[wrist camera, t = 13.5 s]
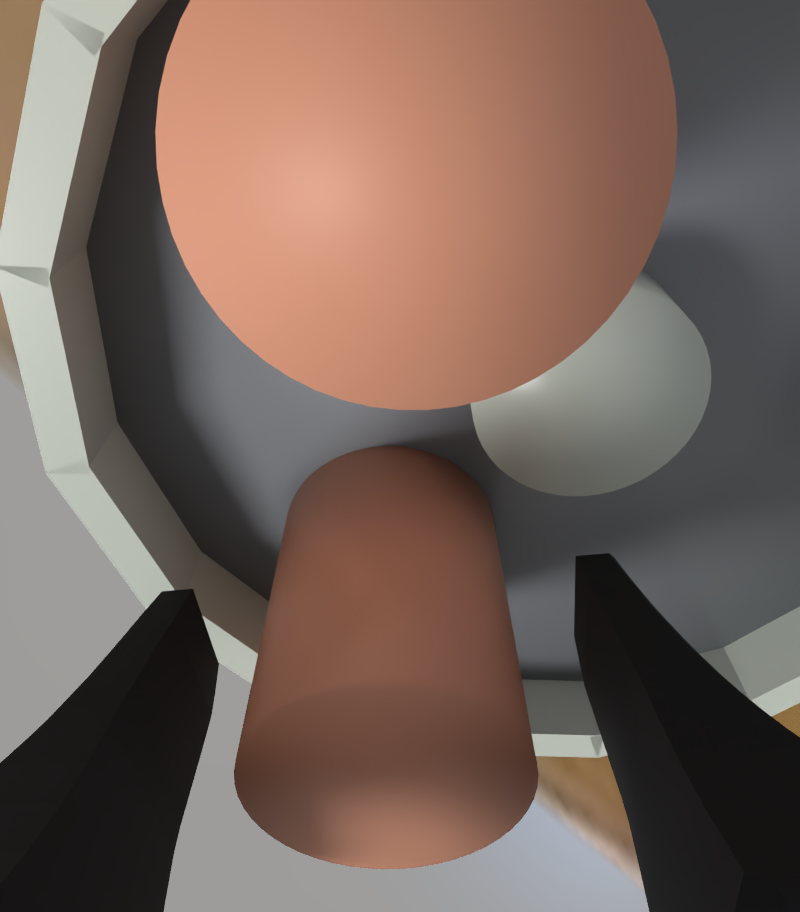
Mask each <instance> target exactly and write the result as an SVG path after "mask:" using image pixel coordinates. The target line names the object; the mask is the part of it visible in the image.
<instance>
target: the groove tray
mask: <svg viewBox="0 0 800 912" xmlns="http://www.w3.org/2000/svg"><path fill="white" fill-rule="evenodd" d="M189 2H190V0H44V2H43V3H42V6H41V12H40V17H39V23H38V28H37V34H36V39H35V45H34V50H33V56H32V61H31V67H30V72H29V78H28V83H27V89H26V94H25V100H24V105H23V111H22V116H21V121H20V127H19V132H18V138H17V143H16V149H15V154H14V160H13V165H12V171H11V176H10V182H9V187H8V193H7V198H6V204H5V209H4V215H3V220H2V226H1V231H0V291H1V295H2V300H3V304H4V308H5V312H6V316H7V320H8V324H9V328H10V332H11V336H12V340H13V344H14V348H15V352H16V356H17V360H18V364H19V368H20V372H21V376H22V380H23V384H24V388H25V392H26V396H27V400H28V404H29V408H30V412H31V416H32V420H33V424H34V428H35V432H36V436H37V440H38V444H39V448H40V452H41V456H42V460H43V464H44V469H45V472H46V474H47V475H48V477H49V478H50V480H51V481H52V482H53V484H54V485H55V486H56V488H57V489H58V490H59V492H60V493H61V494H62V496H63V497H64V498H65V500H66V501H67V503H68V504H69V505H70V507H71V508H72V509H73V511H74V512H75V513H76V515H77V516H78V517H79V519H80V520H81V521H82V523H83V524H84V526H85V527H86V528H87V530H88V531H89V532H90V534H91V535H92V536H93V538H94V539H95V540H96V542H97V543H98V545H99V546H100V547H101V549H102V550H103V551H104V553H105V554H106V555H107V557H108V558H109V560H110V561H111V562H112V564H113V565H114V566H115V568H116V569H117V570H118V572H119V573H120V574H121V576H122V577H123V578H124V580H125V581H126V583H127V584H128V585H129V587H130V588H131V589H132V591H133V592H134V593H135V595H136V596H137V597H138V599H139V600H140V602H141V603H142V604H143V606H144V607H145V608H146V609H147V608H148V607H149V606H150V604H151V603H152V602H153V601H154V600H155V599H156V598H157V596H158V595H159V594H160V593H161V592H162V591H172V590H184V589H193V590H194V593H195V596H196V599H197V602H198V605H199V608H200V611H201V613H202V616H203V619H204V622H205V625H206V628H207V631H208V634H209V637H210V640H211V643H212V646H213V649H214V651H215V654H216V657H217V660H218V662H219V663H221V664H223V665H224V666H225V667H227V668H228V669H230V670H231V671H233V672H235V673H236V674H237V675H239V676H240V677H242V678H243V679H245V680H247V681H248V682H249V683H251V684H252V681H253V676H254V671H255V666H256V662H257V657H258V652H259V647H260V642H261V638H262V633H263V628H264V623H265V619H266V614H267V609H268V604H269V599H270V595H271V590H272V585H273V580H274V576H275V571H276V566H277V561H278V556H279V552H280V547H281V542H282V537H283V533H284V528H285V523H286V518H287V514H288V510H289V507H290V504H291V501H292V499H293V498H294V496H295V494H296V492H297V490H298V489H299V488H300V486H301V485H302V484H303V482H304V481H305V480H306V479H307V478H308V477H309V476H310V475H311V474H312V473H313V472H315V471H316V470H317V469H319V468H320V467H321V466H322V465H324V464H326V463H327V462H329V461H331V460H333V459H335V458H337V457H339V456H342V455H344V454H346V453H349V452H353V451H356V450H360V449H365V448H371V447H381V446H398V447H408V448H414V449H419V450H423V451H426V452H429V453H433V454H435V455H437V456H440V457H442V458H444V459H446V460H448V461H450V462H452V463H453V464H455V465H457V466H458V467H459V468H461V469H462V470H463V471H465V472H466V473H467V474H468V475H469V476H470V477H471V478H472V479H473V480H474V481H475V482H476V483H477V484H478V486H479V487H480V488H481V490H482V491H483V493H484V494H485V496H486V498H487V500H488V502H489V505H490V508H491V511H492V514H493V520H494V526H495V531H496V537H497V542H498V548H499V554H500V559H501V565H502V571H503V576H504V582H505V587H506V593H507V599H508V604H509V610H510V615H511V621H512V627H513V632H514V638H515V644H516V649H517V655H518V660H519V666H520V672H521V677H522V683H523V689H524V694H525V700H526V705H527V711H528V717H529V722H530V728H531V733H532V739H533V745H534V750H535V756H558V757H596V758H598V757H602V756H607V752H606V749H605V746H604V743H603V740H602V737H601V734H600V731H599V728H598V725H597V722H596V719H595V716H594V713H593V710H592V707H591V704H590V701H589V698H588V695H587V692H586V689H585V686H584V681H583V676H582V672H581V667H580V663H579V658H578V653H577V648H576V643H575V638H574V610H575V557H576V556H581V555H592V554H604V553H610V554H611V555H612V556H613V557H615V559H616V560H617V561H618V563H619V564H620V565H621V567H622V568H623V569H624V571H625V572H626V573H627V574H628V576H629V577H630V578H631V579H632V581H633V582H634V583H635V584H636V586H637V587H638V588H639V589H640V590H641V592H642V593H643V594H644V595H645V596H646V597H647V599H648V600H649V601H650V602H651V603H652V604H653V606H654V607H655V608H656V609H657V610H658V611H659V612H660V613H661V615H662V616H663V617H664V618H665V619H666V620H667V621H668V622H669V623H670V624H671V625H672V626H673V627H674V629H675V630H676V631H677V632H678V633H679V634H680V635H681V636H682V637H683V638H684V639H685V640H686V641H687V642H688V643H689V644H690V645H691V646H692V647H693V648H694V649H695V650H696V651H697V652H698V653H699V654H700V655H701V656H702V657H703V658H704V659H705V660H706V661H707V662H708V663H709V664H710V665H711V666H712V667H713V668H715V669H716V670H717V671H718V672H719V673H720V674H721V675H722V676H723V677H724V678H725V679H727V680H728V681H729V682H730V683H731V684H732V685H733V686H735V687H736V688H737V689H738V690H739V691H740V692H742V693H743V694H744V695H745V696H746V697H748V698H749V699H750V700H751V701H752V702H754V703H755V704H756V705H757V706H758V707H760V708H761V709H762V710H763V711H765V712H766V713H767V714H769V715H770V716H773V715H775V714H777V713H780V712H782V711H784V710H786V709H788V708H790V707H792V706H794V705H796V704H798V703H800V0H646V2H647V4H648V6H649V8H650V10H651V12H652V14H653V16H654V18H655V20H656V23H657V26H658V29H659V32H660V35H661V38H662V41H663V44H664V47H665V50H666V53H667V56H668V60H669V65H670V70H671V75H672V81H673V86H674V91H675V100H676V115H677V147H676V163H675V171H674V177H673V182H672V187H671V193H670V198H669V203H668V206H667V209H666V212H665V215H664V219H663V222H662V225H661V228H660V231H659V235H658V237H657V239H656V241H655V244H654V246H653V248H652V250H651V252H650V255H649V257H648V259H647V261H646V264H645V266H644V267H643V269H642V271H641V272H640V274H639V276H638V277H637V279H636V281H635V282H634V284H633V286H632V287H631V289H630V291H629V292H628V294H627V295H626V297H625V298H624V299H623V301H622V302H621V303H620V304H619V306H618V307H617V308H616V310H615V311H614V312H613V314H612V315H611V316H610V318H609V319H608V320H607V321H606V322H605V323H604V324H603V325H602V326H601V327H600V328H599V329H598V330H597V331H596V332H595V333H594V334H593V335H592V336H591V337H590V339H589V340H588V341H587V342H585V343H584V344H583V345H582V346H581V347H579V348H578V349H577V350H576V351H574V352H573V353H572V354H571V355H570V356H568V357H567V358H566V359H565V360H563V361H562V362H561V363H559V364H557V365H556V366H554V367H553V368H551V369H550V370H548V371H547V372H545V373H544V374H542V375H540V376H539V377H537V378H535V379H533V380H531V381H529V382H527V383H525V384H523V385H521V386H519V387H517V388H515V389H513V390H511V391H508V392H505V393H502V394H500V395H497V396H494V397H491V398H488V399H486V400H482V401H478V402H474V403H470V404H465V405H461V406H457V407H449V408H441V409H432V410H395V409H386V408H377V407H370V406H366V405H361V404H357V403H353V402H349V401H344V400H341V399H338V398H336V397H333V396H330V395H327V394H324V393H322V392H319V391H316V390H314V389H312V388H310V387H308V386H306V385H304V384H302V383H300V382H298V381H296V380H294V379H292V378H290V377H288V376H287V375H285V374H284V373H282V372H281V371H279V370H278V369H276V368H275V367H273V366H272V365H270V364H269V363H267V362H266V361H264V360H263V359H262V358H261V357H259V356H258V355H257V354H256V353H255V352H253V351H252V350H251V349H250V348H249V347H247V346H246V345H245V344H244V343H243V342H242V341H241V340H240V339H239V338H238V337H237V336H236V335H235V334H234V333H233V332H232V331H231V330H230V329H229V328H228V327H227V326H226V325H225V324H224V322H223V321H222V320H221V319H220V318H219V317H218V315H217V314H216V313H215V311H214V310H213V309H212V307H211V306H210V305H209V303H208V302H207V301H206V299H205V298H204V297H203V295H202V294H201V292H200V290H199V289H198V287H197V285H196V283H195V282H194V280H193V278H192V276H191V275H190V273H189V271H188V270H187V268H186V266H185V264H184V262H183V259H182V257H181V255H180V252H179V250H178V248H177V245H176V243H175V240H174V238H173V236H172V233H171V229H170V226H169V223H168V219H167V216H166V212H165V209H164V205H163V202H162V196H161V190H160V184H159V178H158V171H157V160H156V134H155V129H156V118H157V106H158V95H159V89H160V85H161V80H162V76H163V71H164V67H165V62H166V58H167V54H168V52H169V49H170V46H171V43H172V41H173V38H174V35H175V32H176V30H177V27H178V24H179V22H180V19H181V17H182V15H183V13H184V11H185V10H186V8H187V6H188V4H189Z"/></svg>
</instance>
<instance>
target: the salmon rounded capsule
mask: <svg viewBox="0 0 800 912" xmlns="http://www.w3.org/2000/svg"><path fill="white" fill-rule="evenodd" d="M155 134H156V160H157V171H158V178H159V184H160V190H161V196H162V202H163V205H164V209H165V212H166V216H167V219H168V223H169V226H170V229H171V233H172V236H173V238H174V240H175V243H176V245H177V248H178V250H179V252H180V255H181V257H182V259H183V262H184V264H185V266H186V268H187V270H188V271H189V273H190V275H191V276H192V278H193V280H194V282H195V283H196V285H197V287H198V289H199V290H200V292H201V294H202V295H203V297H204V298H205V299H206V301H207V302H208V303H209V305H210V306H211V307H212V309H213V310H214V311H215V313H216V314H217V315H218V317H219V318H220V319H221V320H222V321H223V322H224V324H225V325H226V326H227V327H228V328H229V329H230V330H231V331H232V332H233V333H234V334H235V335H236V336H237V337H238V338H239V339H240V340H241V341H242V342H243V343H244V344H245V345H246V346H247V347H249V348H250V349H251V350H252V351H253V352H255V353H256V354H257V355H258V356H259V357H261V358H262V359H263V360H264V361H266V362H267V363H269V364H270V365H272V366H273V367H275V368H276V369H278V370H279V371H281V372H282V373H284V374H285V375H287V376H288V377H290V378H292V379H294V380H296V381H298V382H300V383H302V384H304V385H306V386H308V387H310V388H312V389H314V390H316V391H319V392H322V393H324V394H327V395H330V396H333V397H336V398H338V399H341V400H344V401H349V402H353V403H357V404H361V405H366V406H370V407H377V408H386V409H395V410H432V409H441V408H449V407H457V406H461V405H465V404H470V403H474V402H478V401H482V400H486V399H488V398H491V397H494V396H497V395H500V394H502V393H505V392H508V391H511V390H513V389H515V388H517V387H519V386H521V385H523V384H525V383H527V382H529V381H531V380H533V379H535V378H537V377H539V376H540V375H542V374H544V373H545V372H547V371H548V370H550V369H551V368H553V367H554V366H556V365H557V364H559V363H561V362H562V361H563V360H565V359H566V358H567V357H568V356H570V355H571V354H572V353H573V352H574V351H576V350H577V349H578V348H579V347H581V346H582V345H583V344H584V343H585V342H587V341H588V340H589V339H590V337H591V336H592V335H593V334H594V333H595V332H596V331H597V330H598V329H599V328H600V327H601V326H602V325H603V324H604V323H605V322H606V321H607V320H608V319H609V318H610V316H611V315H612V314H613V312H614V311H615V310H616V308H617V307H618V306H619V304H620V303H621V302H622V301H623V299H624V298H625V297H626V295H627V294H628V292H629V291H630V289H631V287H632V286H633V284H634V282H635V281H636V279H637V277H638V276H639V274H640V272H641V271H642V269H643V267H644V266H645V264H646V261H647V259H648V257H649V255H650V252H651V250H652V248H653V246H654V244H655V241H656V239H657V237H658V235H659V231H660V228H661V225H662V222H663V219H664V215H665V212H666V209H667V206H668V203H669V198H670V193H671V187H672V182H673V177H674V171H675V163H676V147H677V115H676V100H675V91H674V86H673V81H672V75H671V70H670V65H669V60H668V56H667V53H666V50H665V47H664V44H663V41H662V38H661V35H660V32H659V29H658V26H657V23H656V20H655V18H654V16H653V14H652V12H651V10H650V8H649V6H648V4H647V2H646V0H190V2H189V4H188V6H187V8H186V10H185V11H184V13H183V15H182V17H181V19H180V22H179V24H178V27H177V30H176V32H175V35H174V38H173V41H172V43H171V46H170V49H169V52H168V54H167V58H166V62H165V67H164V71H163V76H162V80H161V85H160V89H159V95H158V106H157V118H156V129H155Z"/></svg>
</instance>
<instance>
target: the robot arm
mask: <svg viewBox="0 0 800 912" xmlns="http://www.w3.org/2000/svg"><path fill="white" fill-rule="evenodd" d="M574 638H575V643H576V648H577V653H578V658H579V663H580V667H581V672H582V676H583V681H584V686H585V689H586V692H587V695H588V698H589V701H590V704H591V707H592V710H593V713H594V716H595V719H596V722H597V725H598V728H599V731H600V734H601V737H602V740H603V743H604V746H605V749H606V752H607V755H608V758H609V761H610V764H611V767H612V770H613V773H614V776H615V779H616V782H617V785H618V788H619V791H620V794H621V797H622V800H623V803H624V807H625V810H626V814H627V817H628V821H629V824H630V829H631V833H632V837H633V841H634V846H635V850H636V854H637V859H638V863H639V867H640V871H641V876H642V880H643V885H644V889H645V894H646V898H647V902H648V907H649V911H650V912H800V737H798V736H797V735H795V734H794V733H793V732H791V731H790V730H788V729H787V728H785V727H784V726H783V725H782V724H780V723H779V722H778V721H776V720H775V719H774V718H772V717H771V716H770V715H769V714H767V713H766V712H765V711H763V710H762V709H761V708H760V707H758V706H757V705H756V704H755V703H754V702H752V701H751V700H750V699H749V698H748V697H746V696H745V695H744V694H743V693H742V692H740V691H739V690H738V689H737V688H736V687H735V686H733V685H732V684H731V683H730V682H729V681H728V680H727V679H725V678H724V677H723V676H722V675H721V674H720V673H719V672H718V671H717V670H716V669H715V668H713V667H712V666H711V665H710V664H709V663H708V662H707V661H706V660H705V659H704V658H703V657H702V656H701V655H700V654H699V653H698V652H697V651H696V650H695V649H694V648H693V647H692V646H691V645H690V644H689V643H688V642H687V641H686V640H685V639H684V638H683V637H682V636H681V635H680V634H679V633H678V632H677V631H676V630H675V629H674V627H673V626H672V625H671V624H670V623H669V622H668V621H667V620H666V619H665V618H664V617H663V616H662V615H661V613H660V612H659V611H658V610H657V609H656V608H655V607H654V606H653V604H652V603H651V602H650V601H649V600H648V599H647V597H646V596H645V595H644V594H643V593H642V592H641V590H640V589H639V588H638V587H637V586H636V584H635V583H634V582H633V581H632V579H631V578H630V577H629V576H628V574H627V573H626V572H625V571H624V569H623V568H622V567H621V565H620V564H619V563H618V561H617V560H616V559H615V557H613V556H612V555H611V554H610V553H604V554H592V555H581V556H576V557H575V610H574ZM218 665H219V663H218V660H217V657H216V654H215V651H214V649H213V646H212V643H211V640H210V637H209V634H208V631H207V628H206V625H205V622H204V619H203V616H202V613H201V611H200V608H199V605H198V602H197V599H196V596H195V593H194V590H193V589H184V590H172V591H162V592H161V593H160V594H159V595H158V596H157V598H156V599H155V600H154V601H153V602H152V603H151V604H150V606H149V607H148V608H147V609H146V610H145V611H144V613H143V614H142V615H141V616H140V617H139V619H138V620H137V621H136V622H135V623H134V625H133V626H132V627H131V628H130V629H129V631H128V632H127V633H126V634H125V635H124V636H123V638H122V639H121V640H120V641H119V642H118V643H117V645H116V646H115V647H114V648H113V649H112V650H111V652H110V653H109V654H108V655H107V656H106V657H105V659H104V660H103V661H102V662H101V663H100V664H99V665H98V666H97V668H96V669H95V670H94V671H93V672H92V673H91V675H90V676H89V677H88V678H87V679H86V680H85V681H84V682H83V683H82V684H81V685H80V686H79V687H78V688H77V689H76V690H75V691H74V693H73V694H72V695H71V696H70V697H69V698H68V699H67V700H66V701H65V702H64V703H63V704H62V705H61V706H60V707H59V708H58V709H57V710H56V712H54V714H53V715H52V716H51V717H50V718H49V719H48V720H47V721H46V722H45V723H43V725H41V726H40V727H39V728H38V729H37V730H36V731H35V732H34V733H33V734H32V735H31V736H30V737H29V738H28V739H26V740H25V741H24V742H23V743H22V744H21V745H20V746H19V747H18V748H16V749H15V750H14V751H13V752H12V753H11V754H10V755H9V756H8V757H6V759H4V760H3V761H2V762H1V763H0V912H163V911H164V905H165V899H166V894H167V888H168V882H169V877H170V871H171V866H172V859H173V855H174V850H175V846H176V842H177V838H178V833H179V829H180V825H181V822H182V818H183V815H184V811H185V808H186V804H187V801H188V797H189V793H190V790H191V787H192V783H193V780H194V776H195V773H196V769H197V765H198V762H199V758H200V755H201V751H202V748H203V744H204V741H205V737H206V733H207V730H208V726H209V722H210V718H211V714H212V708H213V701H214V696H215V688H216V681H217V674H218Z"/></svg>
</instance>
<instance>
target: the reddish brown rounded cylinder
mask: <svg viewBox="0 0 800 912" xmlns="http://www.w3.org/2000/svg"><path fill="white" fill-rule="evenodd" d="M234 779H235V787H236V791H237V794H238V797H239V799H240V801H241V803H242V805H243V807H244V809H245V810H246V812H247V813H248V814H249V816H250V817H251V819H252V820H254V822H255V823H256V824H257V825H258V826H259V827H260V828H261V829H263V830H264V831H265V832H266V833H268V834H269V835H270V836H272V837H273V838H274V839H276V840H278V841H280V842H281V843H283V844H285V845H286V846H288V847H290V848H292V849H294V850H296V851H298V852H301V853H303V854H306V855H309V856H311V857H314V858H317V859H320V860H324V861H328V862H331V863H336V864H341V865H346V866H352V867H361V868H372V869H402V868H403V869H404V868H414V867H422V866H428V865H433V864H439V863H443V862H446V861H450V860H454V859H457V858H460V857H463V856H466V855H468V854H471V853H473V852H475V851H478V850H479V849H482V848H484V847H486V846H488V845H489V844H491V843H493V842H494V841H496V840H498V839H499V838H501V837H502V836H503V835H504V834H506V833H507V832H509V831H510V830H511V829H512V828H513V827H514V826H515V825H516V824H517V823H518V822H519V821H520V820H521V819H522V817H523V816H524V815H525V813H526V812H527V810H528V809H529V807H530V805H531V803H532V801H533V799H534V796H535V793H536V790H537V785H538V769H537V762H536V756H535V750H534V745H533V739H532V733H531V728H530V722H529V717H528V711H527V705H526V700H525V694H524V689H523V683H522V677H521V672H520V666H519V660H518V655H517V649H516V644H515V638H514V632H513V627H512V621H511V615H510V610H509V604H508V599H507V593H506V587H505V582H504V576H503V571H502V565H501V559H500V554H499V548H498V542H497V537H496V531H495V526H494V520H493V514H492V511H491V508H490V505H489V502H488V500H487V498H486V496H485V494H484V493H483V491H482V490H481V488H480V487H479V486H478V484H477V483H476V482H475V481H474V480H473V479H472V478H471V477H470V476H469V475H468V474H467V473H466V472H465V471H463V470H462V469H461V468H459V467H458V466H457V465H455V464H453V463H452V462H450V461H448V460H446V459H444V458H442V457H440V456H437V455H435V454H433V453H429V452H426V451H423V450H419V449H414V448H408V447H398V446H381V447H371V448H365V449H360V450H356V451H353V452H349V453H346V454H344V455H342V456H339V457H337V458H335V459H333V460H331V461H329V462H327V463H326V464H324V465H322V466H321V467H320V468H319V469H317V470H316V471H315V472H313V473H312V474H311V475H310V476H309V477H308V478H307V479H306V480H305V481H304V482H303V484H302V485H301V486H300V488H299V489H298V490H297V492H296V494H295V496H294V498H293V499H292V501H291V504H290V507H289V510H288V514H287V518H286V523H285V528H284V533H283V537H282V542H281V547H280V552H279V556H278V561H277V566H276V571H275V576H274V580H273V585H272V590H271V595H270V599H269V604H268V609H267V614H266V619H265V623H264V628H263V633H262V638H261V642H260V647H259V652H258V657H257V662H256V666H255V671H254V676H253V681H252V686H251V690H250V695H249V700H248V705H247V710H246V714H245V719H244V724H243V728H242V734H241V738H240V743H239V748H238V752H237V757H236V763H235V769H234Z"/></svg>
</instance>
